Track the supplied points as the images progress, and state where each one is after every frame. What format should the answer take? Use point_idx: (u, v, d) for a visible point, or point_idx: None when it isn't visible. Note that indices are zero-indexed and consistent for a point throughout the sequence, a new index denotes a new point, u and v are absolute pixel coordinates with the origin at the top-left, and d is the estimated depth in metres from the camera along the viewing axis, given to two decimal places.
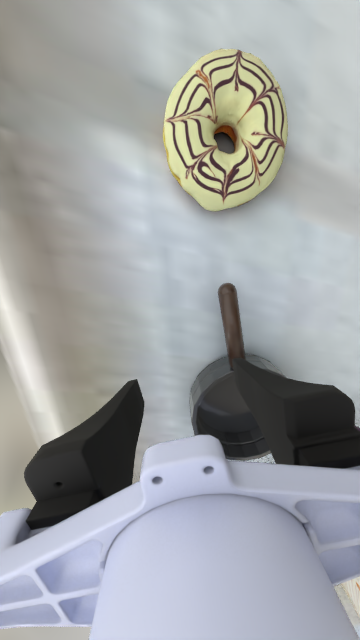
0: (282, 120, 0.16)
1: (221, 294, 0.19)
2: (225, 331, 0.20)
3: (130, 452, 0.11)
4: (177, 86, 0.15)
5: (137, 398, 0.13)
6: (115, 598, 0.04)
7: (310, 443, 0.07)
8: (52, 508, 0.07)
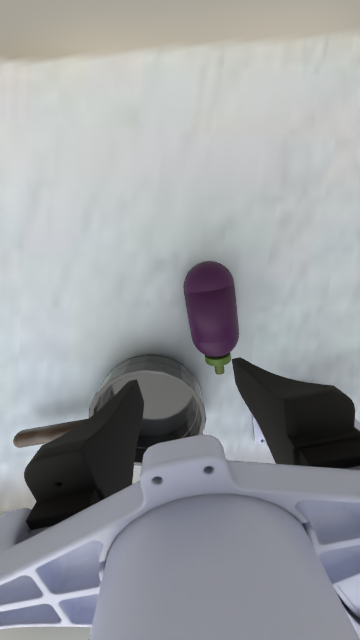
0: None
1: None
2: None
3: (130, 452, 0.11)
4: None
5: (137, 398, 0.13)
6: (115, 598, 0.04)
7: (310, 443, 0.07)
8: (52, 508, 0.07)
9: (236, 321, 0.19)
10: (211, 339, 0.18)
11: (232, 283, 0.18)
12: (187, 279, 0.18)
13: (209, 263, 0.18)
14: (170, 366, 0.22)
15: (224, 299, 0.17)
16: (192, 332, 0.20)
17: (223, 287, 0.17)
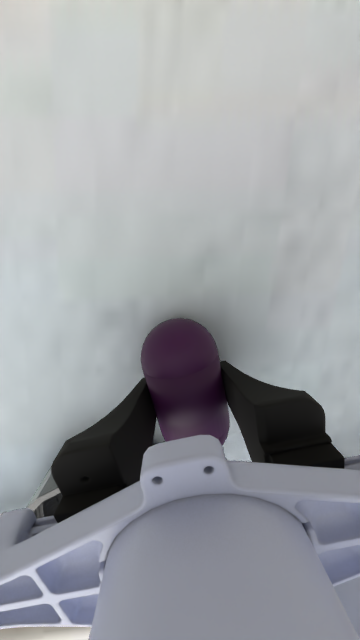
0: None
1: None
2: None
3: (148, 448, 0.11)
4: None
5: None
6: (115, 598, 0.04)
7: (280, 449, 0.07)
8: (79, 503, 0.07)
9: (224, 410, 0.12)
10: None
11: (214, 357, 0.11)
12: (143, 352, 0.12)
13: (175, 327, 0.11)
14: None
15: (200, 388, 0.11)
16: (159, 423, 0.13)
17: (197, 370, 0.11)
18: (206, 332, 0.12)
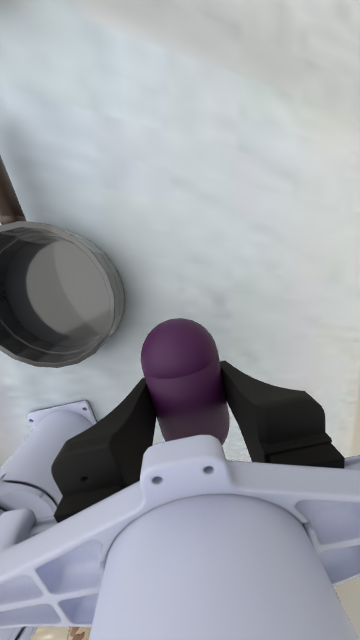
0: None
1: None
2: None
3: (148, 448, 0.11)
4: None
5: None
6: (115, 598, 0.04)
7: (280, 449, 0.07)
8: (79, 503, 0.07)
9: (224, 410, 0.12)
10: None
11: (213, 357, 0.11)
12: (143, 352, 0.12)
13: (175, 327, 0.11)
14: (117, 321, 0.20)
15: (200, 388, 0.11)
16: (159, 423, 0.13)
17: (197, 370, 0.11)
18: (206, 332, 0.12)
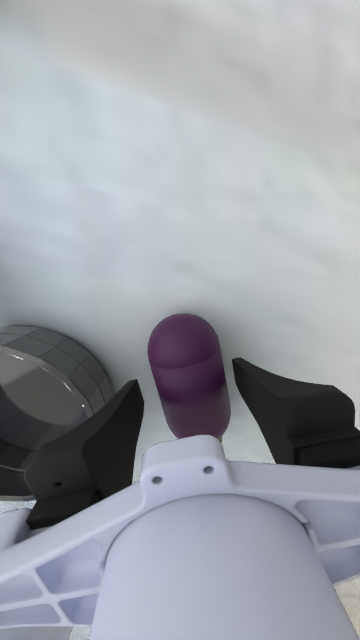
0: None
1: None
2: None
3: (130, 452, 0.11)
4: None
5: (137, 398, 0.13)
6: (115, 598, 0.04)
7: (310, 443, 0.07)
8: (52, 508, 0.07)
9: (226, 396, 0.13)
10: (193, 431, 0.12)
11: (217, 347, 0.12)
12: (151, 345, 0.12)
13: (182, 321, 0.12)
14: None
15: (207, 375, 0.12)
16: (165, 414, 0.14)
17: (205, 359, 0.12)
18: (209, 325, 0.13)
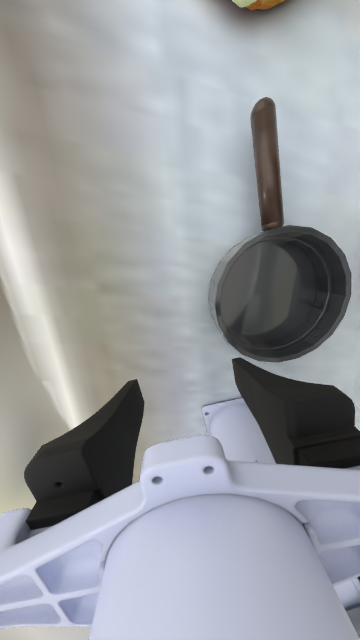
0: None
1: (256, 112, 0.15)
2: (259, 173, 0.16)
3: (130, 452, 0.11)
4: None
5: (137, 398, 0.13)
6: (115, 598, 0.04)
7: (310, 443, 0.07)
8: (52, 508, 0.07)
9: None
10: None
11: None
12: None
13: None
14: None
15: None
16: None
17: None
18: None
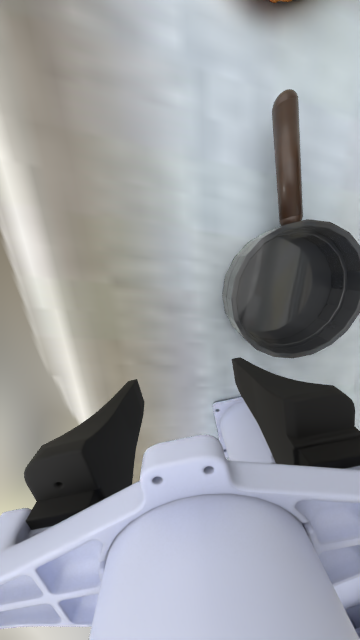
0: None
1: (279, 104, 0.15)
2: (279, 167, 0.16)
3: (130, 452, 0.11)
4: None
5: (137, 398, 0.13)
6: (115, 598, 0.04)
7: (310, 443, 0.07)
8: (52, 508, 0.07)
9: None
10: None
11: None
12: None
13: None
14: None
15: None
16: None
17: None
18: None
